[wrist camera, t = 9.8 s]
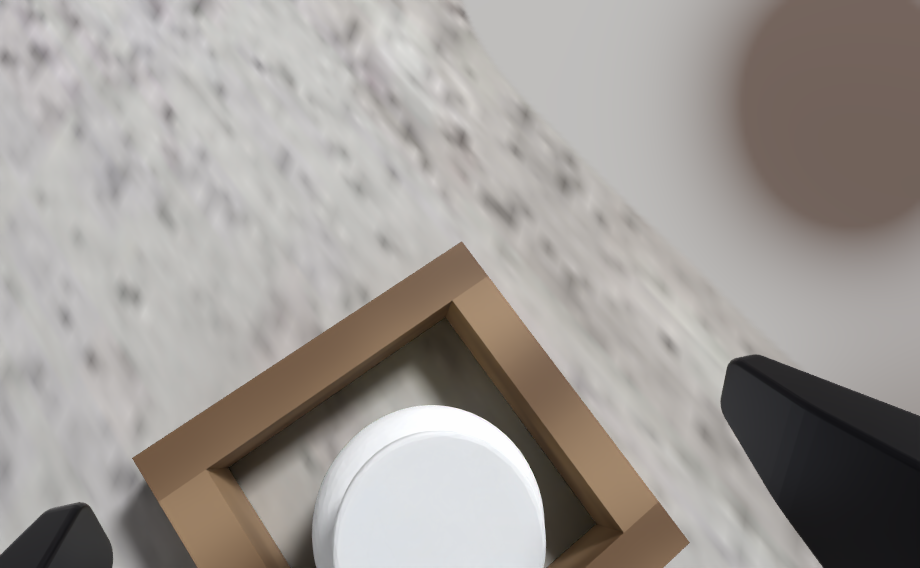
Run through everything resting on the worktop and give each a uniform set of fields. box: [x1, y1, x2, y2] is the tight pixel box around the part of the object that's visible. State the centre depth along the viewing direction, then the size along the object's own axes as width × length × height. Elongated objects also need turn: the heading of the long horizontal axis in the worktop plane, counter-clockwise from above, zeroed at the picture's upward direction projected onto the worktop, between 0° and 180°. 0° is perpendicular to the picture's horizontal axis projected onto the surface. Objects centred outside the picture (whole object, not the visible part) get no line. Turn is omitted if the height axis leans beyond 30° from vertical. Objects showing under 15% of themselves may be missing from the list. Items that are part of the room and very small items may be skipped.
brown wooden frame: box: [132, 242, 690, 568], centre depth 19 cm, size 12×12×2 cm
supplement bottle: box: [312, 405, 546, 568], centre depth 15 cm, size 5×5×10 cm
